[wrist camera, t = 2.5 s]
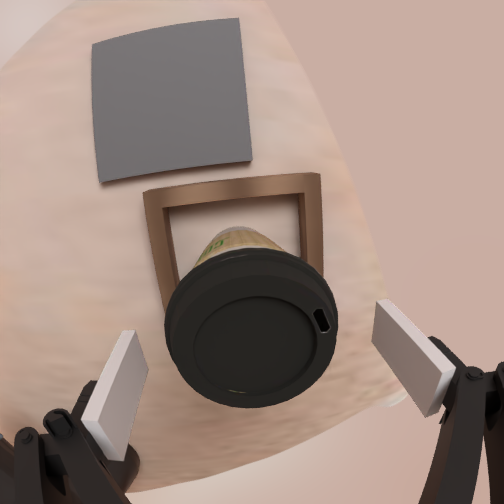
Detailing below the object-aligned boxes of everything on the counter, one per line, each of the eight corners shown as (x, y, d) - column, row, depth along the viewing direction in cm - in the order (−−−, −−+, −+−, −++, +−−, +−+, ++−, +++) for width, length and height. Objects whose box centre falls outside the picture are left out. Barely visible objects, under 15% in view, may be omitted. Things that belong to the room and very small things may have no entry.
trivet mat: (103, 181, 25) (99, 182, 24) (95, 47, 21) (92, 44, 20) (251, 160, 26) (252, 160, 25) (238, 22, 22) (238, 17, 21)
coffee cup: (168, 237, 28) (120, 315, 13) (263, 188, 27) (309, 221, 13) (218, 319, 31) (219, 433, 16) (304, 277, 30) (366, 370, 16)
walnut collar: (176, 333, 31) (173, 346, 28) (149, 189, 26) (142, 192, 24) (315, 316, 32) (322, 327, 29) (311, 172, 27) (320, 173, 25)
